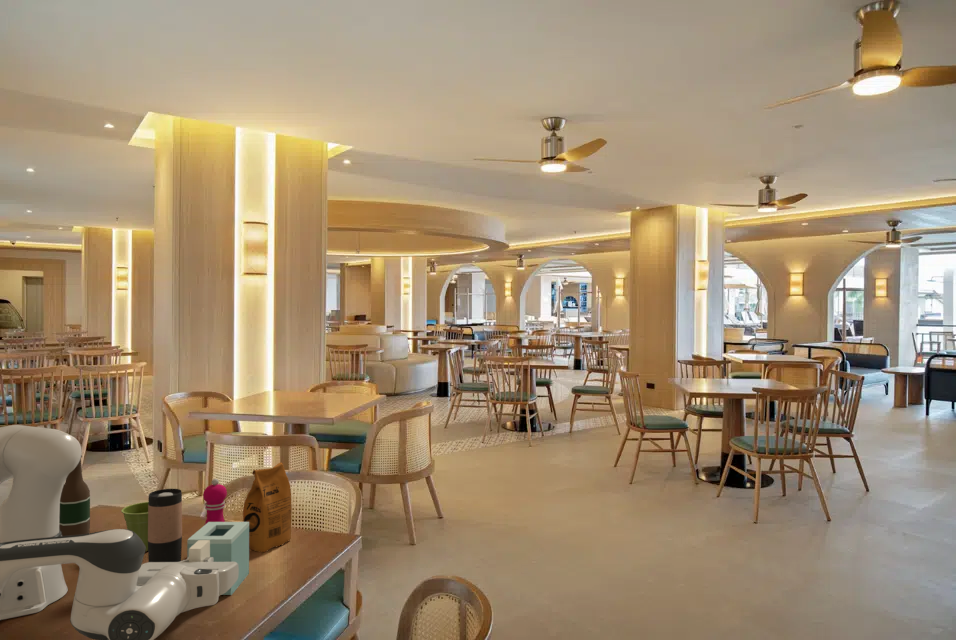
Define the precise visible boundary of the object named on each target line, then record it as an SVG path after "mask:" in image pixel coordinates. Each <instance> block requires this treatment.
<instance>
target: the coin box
mask: <svg viewBox="0 0 956 640" xmlns="http://www.w3.org/2000/svg"><path fill="white" fill-rule="evenodd" d="M198 540H210V557H213V558H214V562H236V563H238V567H239V575H238V579H237V581H236V582H235V584H234V585H233V586H232V587H231V588H230V589H229V590H228V591H227V592H226V593H224V594H223V595H231V596H233V594H234V593H235V591H237V589H238V588H239V587H240V585H241V584H242V583H243V581H244V580H245V579H246V578H247V576H248V575H249V574H250V549H249V522H243V521H225V522H208V523H207V524H206V525H205V524H204V525H203V526H201V528H200V529H198V530H196V532H195V533H194V534H192V535H191V536H190V537H188V539H187V540H186V541H187V542H186V543H187V547H186V549H187V550H186V552H187V553H186V555H187V557H186V559H187V558H188V557H189V548H190V547H192V546H193V545H194V544H195V543H196V542H197V541H198Z"/></svg>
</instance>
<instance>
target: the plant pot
mask: <svg viewBox="0 0 956 640" xmlns="http://www.w3.org/2000/svg"><path fill="white" fill-rule="evenodd" d="M120 512H121V513H122V514H123V518H124V520H125V524H126V529H128V530H132V531H133V532H135V533H136V534H137V535H138V536H139V537H140V539H141V540H142V541H143V543H144V545H145V547H146V550H145V552H148V501H144V502H143V501H142V502H138V503H133V504H129V505H127V506H124V507H123V508H122V509H121V511H120Z"/></svg>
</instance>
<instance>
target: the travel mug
mask: <svg viewBox="0 0 956 640" xmlns="http://www.w3.org/2000/svg"><path fill="white" fill-rule="evenodd" d="M182 495H183V493H182V490H181V489H180V488H163V489H157V490H154V491H151V492H150V493H148V500H147V502H148V551H147V552H148V554H147V555H148V557H147V558H148V559H147V560H148V562H180V561H182V550H183V549H182V547H183V546H182V545H183V544H182V543H183V501H182V500H183V496H182Z"/></svg>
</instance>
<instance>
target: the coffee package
mask: <svg viewBox="0 0 956 640" xmlns="http://www.w3.org/2000/svg"><path fill="white" fill-rule="evenodd" d="M251 474H252V475H253V476H254V480H253V482H252V484H251V488H250V490H249V491H248V493H247V495H246V497H245V500H244V504H243V509H242V522H249V550H251V551H255V552H257V553H258V552H259V553H265V552H266V553H267V551H269V550H271V549H273V548H277V547H276V546H279V547H281V546H280V545H282V544H283V545H285V544H286V543H287V542H289V541H291V540H290V539H292V517H293V516H292V515H293V514H292V513H293V512H292V510H293V509H292V507H293V506H292V490H291V489H292V488H291V482H290V480H289V477H288V475H287V472H286V469H285V466H284V464H283V463H282V462H278V463H276V465H275V466H273V467H272V468H271V467H270V468H264V469H262V468H261V469H259V468H258V469H253V470H252V472H251ZM285 542H286V543H285ZM284 543H285V544H284ZM283 545H282V546H283Z"/></svg>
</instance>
